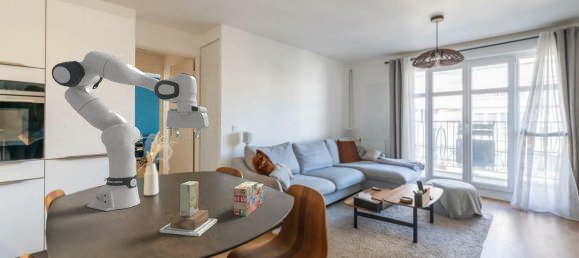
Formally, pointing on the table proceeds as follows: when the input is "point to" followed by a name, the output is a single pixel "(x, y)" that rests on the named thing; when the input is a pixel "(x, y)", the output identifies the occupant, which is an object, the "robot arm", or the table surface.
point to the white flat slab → (190, 232)
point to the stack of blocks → (247, 197)
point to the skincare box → (189, 198)
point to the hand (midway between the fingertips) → (187, 137)
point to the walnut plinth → (189, 220)
